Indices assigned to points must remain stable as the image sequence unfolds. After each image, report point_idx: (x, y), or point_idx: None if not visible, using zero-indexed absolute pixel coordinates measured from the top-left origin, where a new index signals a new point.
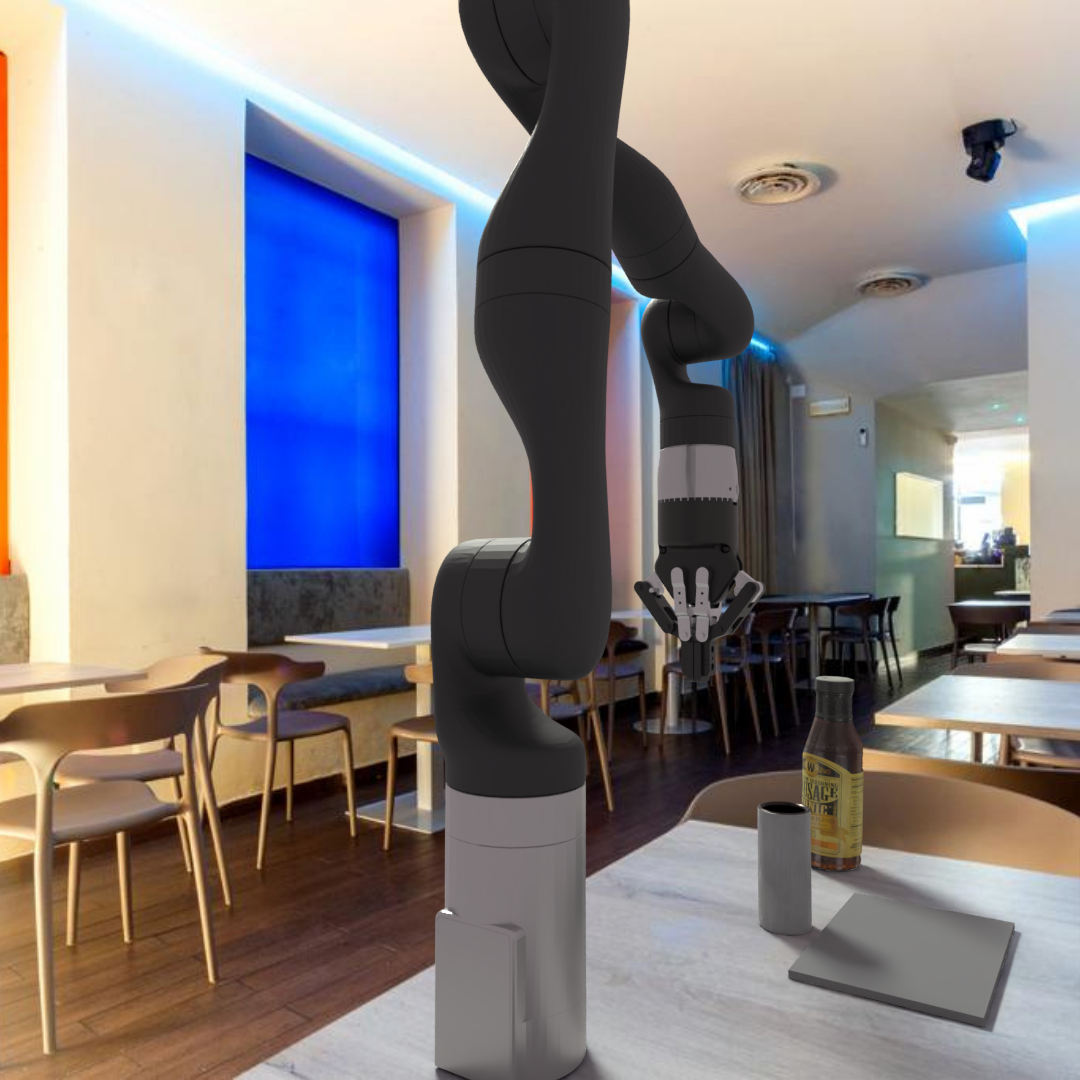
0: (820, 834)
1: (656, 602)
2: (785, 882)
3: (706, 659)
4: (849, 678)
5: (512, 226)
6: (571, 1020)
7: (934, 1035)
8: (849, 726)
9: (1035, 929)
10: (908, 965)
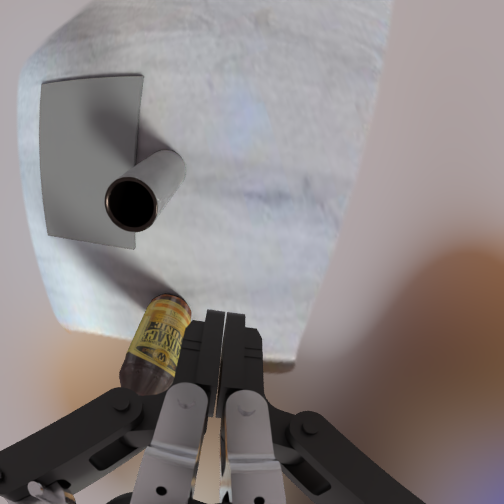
0: (165, 310)
1: (357, 494)
2: (146, 159)
3: (189, 351)
4: None
5: None
6: None
7: (63, 58)
8: None
9: (44, 239)
10: (76, 129)
